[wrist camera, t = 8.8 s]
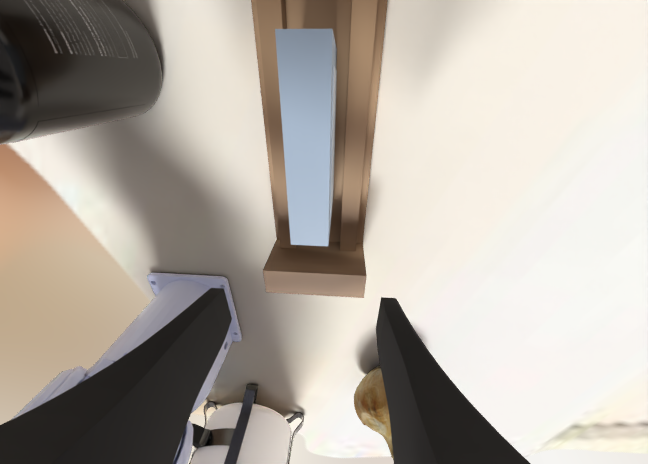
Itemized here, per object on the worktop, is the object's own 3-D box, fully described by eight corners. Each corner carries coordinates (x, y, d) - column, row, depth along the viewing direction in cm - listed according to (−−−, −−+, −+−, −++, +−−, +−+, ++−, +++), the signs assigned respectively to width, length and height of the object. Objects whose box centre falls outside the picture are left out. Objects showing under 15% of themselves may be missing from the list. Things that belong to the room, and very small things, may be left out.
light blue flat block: (333, 201, 18) (329, 246, 13) (305, 200, 18) (289, 244, 13) (337, 50, 14) (333, 28, 9) (300, 50, 14) (273, 28, 9)
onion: (432, 364, 29) (460, 451, 22) (392, 394, 33) (405, 476, 26) (377, 342, 28) (388, 426, 21) (342, 375, 31) (341, 456, 25)
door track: (359, 256, 22) (363, 297, 17) (281, 252, 22) (266, 292, 18) (394, -91, 12) (423, -194, 7) (247, -86, 12) (194, -181, 8)
